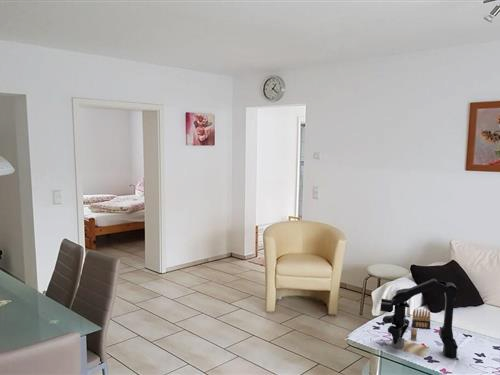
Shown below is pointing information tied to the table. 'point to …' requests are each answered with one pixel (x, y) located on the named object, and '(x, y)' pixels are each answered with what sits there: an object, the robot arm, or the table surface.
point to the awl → (413, 334)
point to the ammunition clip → (421, 320)
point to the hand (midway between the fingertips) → (397, 341)
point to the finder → (398, 343)
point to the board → (414, 348)
